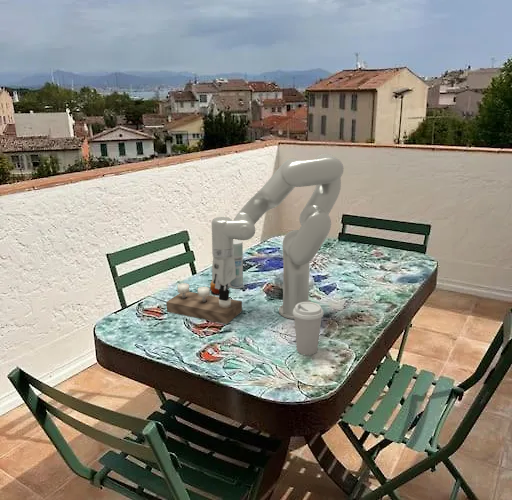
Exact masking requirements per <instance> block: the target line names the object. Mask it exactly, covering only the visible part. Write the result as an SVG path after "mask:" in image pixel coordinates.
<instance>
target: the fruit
mask: <svg viewBox="0 0 512 500" xmlns="http://www.w3.org/2000/svg"><path fill="white" fill-rule="evenodd" d="M209 290H210V291H211V292H212V293H213V294H215V295H219V290H218V289H215V284H213V281H212V280H211V281H210V284H209Z"/></svg>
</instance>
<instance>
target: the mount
mask: <svg viewBox="0 0 512 500" xmlns="http://www.w3.org/2000/svg"><path fill="white" fill-rule="evenodd" d="M185 296H186V298H182V293H178V294H177V295H175V296H174V297H172V298H170V299H169V300H167V301H166V302H165V303H166V312H167V313H172V314H177V315H182V316H186V317H192V318H196V319H201V320H206V321H209V322H210V321H211V322H215V323H221V324H226V325H228V324H229V323H230V322H231V321H232V320H234V319H235V318H236V317H237V316H238V315H239V314H240V313H242V312H243V302H242V301H241V300H237V299H236V300H235V299H231V306H230V307H228V308H221V307H220V306H219V296H215V295H209V296H207V297H206V302H203V301H202V297H199V296H198V292H194V291H193V292H192V291H189V292H187V293H185Z"/></svg>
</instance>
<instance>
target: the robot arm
mask: <svg viewBox="0 0 512 500" xmlns="http://www.w3.org/2000/svg"><path fill="white" fill-rule="evenodd" d="M343 174H344V165H343V162H342V161H341V160H340V159H339V157H338V158H337V157H336V156H333V155H331V154H329V153H322V154H319V155H317V156H316V157H315V158H313V159H307V160H306V159H305V160H300V159H297V158H287V160H285V161H283V163H282V164H281V165H280V166H279V167H278V168H277V170H276V171H275V172H274V173H273V174H272V175H271V177H270V178H269V179H268V180H267V181H266V182H265V184H263V186H262V187H261V188H260V190H258V191H257V192H256V193H255V194H254V195H253V196H252V197H251V198H250V199H249V200H248V201H247V202H246V204H245V205H244V206H243V207H242V208H241V209H240V210H239V211H238V212H237V214H236V215H235V216H234V219H233V220H232V218H230V217H227V216H218V217H215V218H213V219H212V220H211V243H212V244H211V247H212V248H211V249H212V265H211V266H212V267H211V268H212V269H211V281H213V284H215V289H218V290H219V294H218V297H219V299H220V300H224V301H227V300H228V299H229V298H230V293H229V292H230V287H229V284H230V282H231V281H232V280H234V279H235V277H236V269H235V259H234V254H233V240H241V241H248V240H250V239H253V237H254V236H255V234H256V226H255V224H256V223H258V221H259V220H260V219H261V218H262V217H263V216H264V215H265V214H266V213H267V212H268V211H270V210H273V209H275V208H276V207H278V206H280V205H281V204H282V203H283V202H284V200H285V199H286V198H287V197H288V195H290V193H291V192H292V191H293V190H294V189H295V188H301V187H303V188H304V187H313V186H315V188H314V190H313V191H312V194H311V195H310V198H309V199H308V201H307V203H306V205H305V206H304V208H303V209H302V210H301V212H300V214H299V218H298V219H299V223H300V226H299V228H298V229H293V230H291V231H289V232H287V233H286V234H285V236H284V237H283V240H282V261H283V273H282V276H283V277H282V281H283V282H282V283H283V284H282V292H283V293H282V305H281V306H279V308H278V314H279V315H281V317H283V318H286V319H289V320H290V319H291V320H295V319H294V315H293V309H294V308H295V306H296V304H298V303H301V302H312V301H311V300H309V299H310V298H309V294H310V293H309V291H310V262H311V261H312V260H313V259H314V258H315V257H316V255H317V254H318V252H319V250H320V249H321V246H322V245H323V244H324V242H325V241H326V239H327V238H328V235H329V234H330V231H331V228H332V219H331V217H330V213H331V210H332V209H333V207H334V206H335V204H336V202H337V200H338V198H339V195H340V192H341V189H342V188H341V187H342V179H341V178H342V176H343Z"/></svg>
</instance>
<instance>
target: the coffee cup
mask: <svg viewBox="0 0 512 500" xmlns="http://www.w3.org/2000/svg"><path fill="white" fill-rule="evenodd" d="M293 315H294V319H293V320H294V328H295V329H294V332H295V342H296V343H295V345H296V352H297V351H298V352H299V353H298V352H297V353H298V354H300V353H301V354H300V355H302V354H305V355H304V356H310V355H309V354H313V355H315V354H317V353H318V348H319V342H320V332H321V326H322V325H321V323H322V318H323V317H324V310H323V308H322V307H321V304H319V303H316V302H313V301H311V302H301V303H298V304H296V306H295V308H294V309H293ZM314 353H315V354H314Z"/></svg>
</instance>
